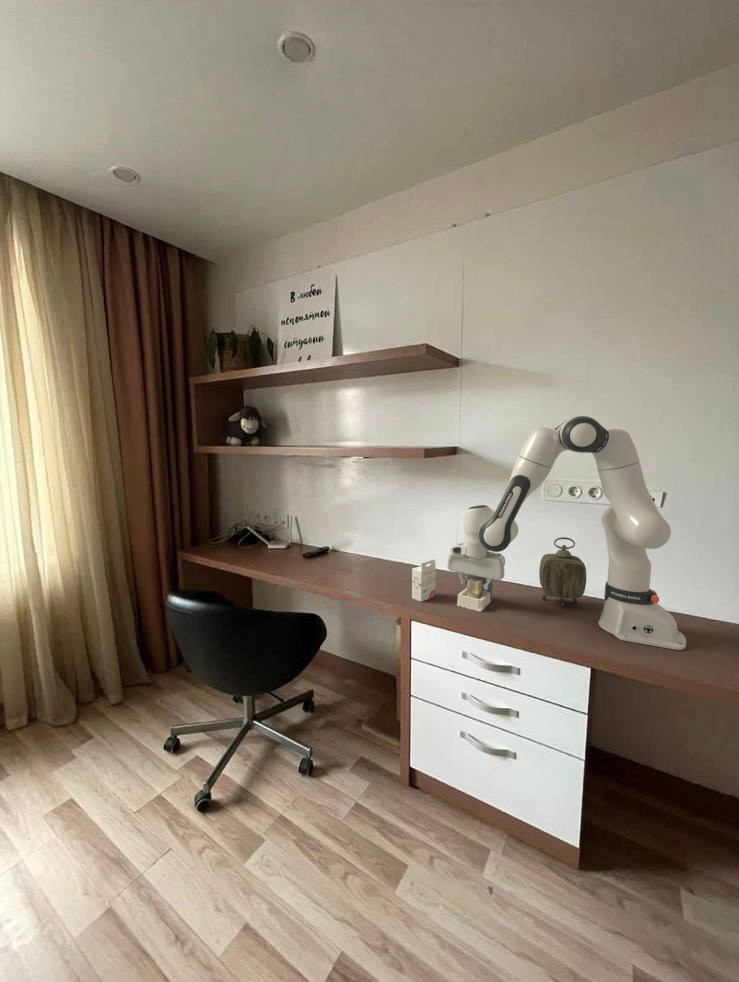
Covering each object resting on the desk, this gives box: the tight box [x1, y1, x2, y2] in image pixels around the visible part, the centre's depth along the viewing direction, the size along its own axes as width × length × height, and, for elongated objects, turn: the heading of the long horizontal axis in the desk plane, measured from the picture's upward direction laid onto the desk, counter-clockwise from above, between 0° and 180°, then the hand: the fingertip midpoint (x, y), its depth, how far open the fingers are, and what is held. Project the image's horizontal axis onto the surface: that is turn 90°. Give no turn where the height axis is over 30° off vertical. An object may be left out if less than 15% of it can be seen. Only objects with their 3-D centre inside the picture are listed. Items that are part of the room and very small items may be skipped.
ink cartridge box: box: [411, 558, 437, 603], centre depth 149 cm, size 9×5×15 cm, turn 133°
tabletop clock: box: [538, 536, 587, 607], centre depth 143 cm, size 14×9×25 cm, turn 74°
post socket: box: [456, 574, 494, 613], centre depth 144 cm, size 9×12×10 cm
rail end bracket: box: [466, 578, 482, 599], centre depth 143 cm, size 4×5×8 cm
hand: (474, 586), depth 142 cm, fingers open, 7 cm apart
